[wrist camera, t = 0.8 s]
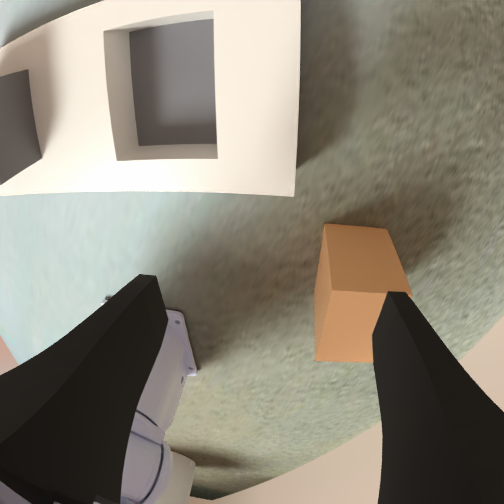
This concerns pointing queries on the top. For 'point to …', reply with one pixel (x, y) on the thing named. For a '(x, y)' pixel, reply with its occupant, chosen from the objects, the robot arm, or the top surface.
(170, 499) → the utensil holder
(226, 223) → the top surface
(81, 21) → the white slotted slab
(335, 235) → the tan cardboard box
